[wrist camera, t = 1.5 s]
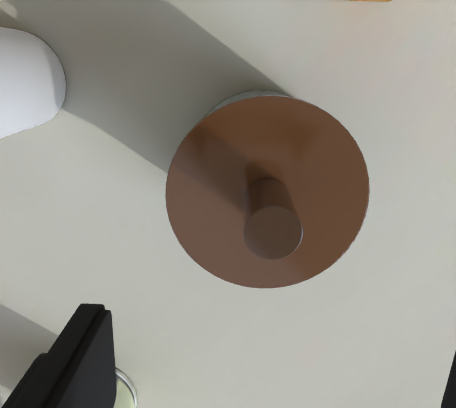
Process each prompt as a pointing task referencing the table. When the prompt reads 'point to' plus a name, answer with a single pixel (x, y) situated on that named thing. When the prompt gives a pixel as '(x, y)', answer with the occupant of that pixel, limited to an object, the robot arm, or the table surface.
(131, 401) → the coffee can
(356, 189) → the lid
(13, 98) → the milk bottle
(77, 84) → the table surface
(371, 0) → the block
